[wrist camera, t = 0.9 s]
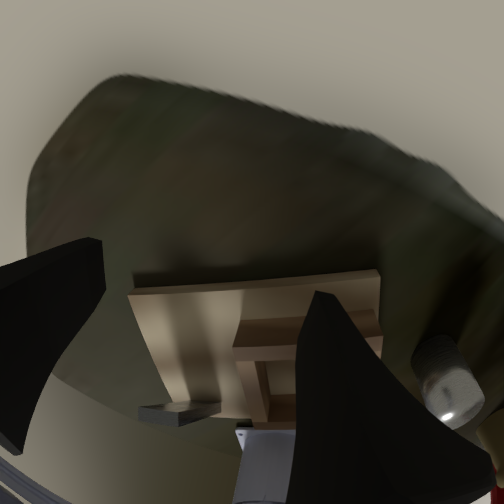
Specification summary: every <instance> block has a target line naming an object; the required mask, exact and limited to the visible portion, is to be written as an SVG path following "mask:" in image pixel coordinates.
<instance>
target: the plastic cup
mask: <svg viewBox="0 0 504 504" xmlns="http://www.w3.org/2000/svg"><path fill="white" fill-rule="evenodd" d="M492 463H493V462H492ZM493 467H494V471H495V476H496V473H497V470H496V468H495V466H494V464H493ZM490 492H491V504H504V488H500V487H499V486H498V485H497V484H496V486H495V487H494V488H493V489H492V490H491V491H490Z"/></svg>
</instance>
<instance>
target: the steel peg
mask: <svg viewBox="0 0 504 504" xmlns="http://www.w3.org/2000/svg"><path fill="white" fill-rule="evenodd" d="M411 367H412V369H413V372H414V374H415V377H416V380H417V382H418V385H419V388H420V391H421V393H422V396H423V399H424V402H425V405H426V408H427V409H428V410H429V411H430V412H431V413H432V414H433V415H434V416H436V417H437V418H438V419H439V420H440V421H442V422H443V423H444V424H446V425H447V426H448V427H450V428H451V429H452V430H453V429H456V428H458V427H460V426H462V425H464V424H465V423H467V422H468V421H469V420H471V419H472V418H473V417H474V416H475V415H476V414H477V413H478V412H479V411H480V410H481V408H482V406H483V404H484V402H485V397H484V395H483V393H482V391H481V389H480V387H479V385H478V383H477V381H476V380H475V378H474V376H473V374H472V372H471V370H470V368H469V367H468V365H467V363H466V361H465V360H464V358H463V356H462V354H461V353H460V351H459V349H458V347H457V346H456V344H455V342H454V341H453V339H452V338H451V337H450V336H448V335H436V336H433V337H430V338H428V339H427V340H425V341H424V342H422V343H421V344H420V345H419V346H418V347H417V348H416V350H415V351H414V353H413V354H412V357H411Z"/></svg>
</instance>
